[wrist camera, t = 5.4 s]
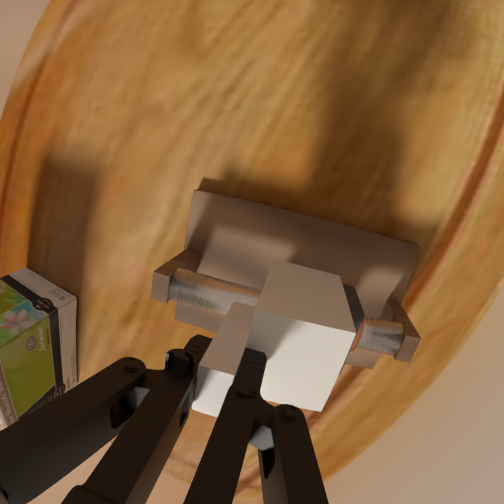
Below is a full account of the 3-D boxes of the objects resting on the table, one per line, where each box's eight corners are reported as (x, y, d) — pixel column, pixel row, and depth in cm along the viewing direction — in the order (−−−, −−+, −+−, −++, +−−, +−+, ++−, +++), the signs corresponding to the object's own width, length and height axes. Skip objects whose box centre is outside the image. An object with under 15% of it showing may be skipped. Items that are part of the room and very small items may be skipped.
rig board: (197, 189, 26) (160, 197, 19) (416, 244, 24) (451, 270, 17) (178, 315, 29) (145, 353, 22) (370, 363, 27) (383, 412, 20)
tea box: (25, 264, 32) (-64, 305, 18) (80, 296, 31) (-15, 358, 17) (30, 353, 36) (-34, 403, 22) (79, 386, 35) (17, 451, 21)
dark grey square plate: (338, 282, 22) (345, 309, 18) (354, 286, 22) (364, 314, 17) (320, 336, 23) (322, 371, 19) (335, 340, 23) (339, 374, 19)
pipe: (186, 259, 22) (170, 271, 20) (398, 312, 21) (408, 331, 18) (181, 295, 23) (165, 310, 21) (384, 345, 22) (392, 366, 19)
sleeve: (273, 258, 23) (254, 308, 15) (339, 275, 22) (356, 333, 14) (257, 322, 24) (234, 391, 16) (319, 337, 24) (321, 411, 16)
